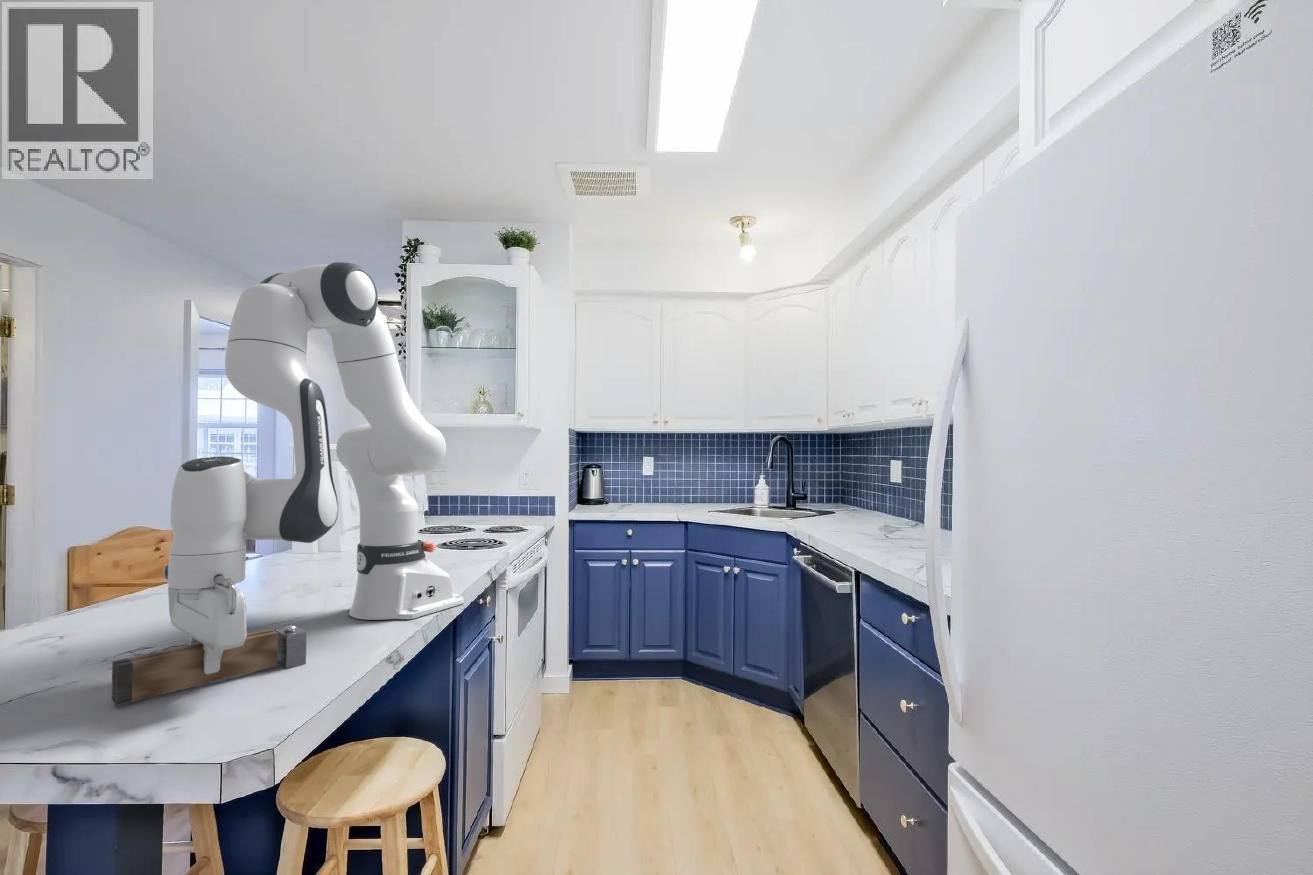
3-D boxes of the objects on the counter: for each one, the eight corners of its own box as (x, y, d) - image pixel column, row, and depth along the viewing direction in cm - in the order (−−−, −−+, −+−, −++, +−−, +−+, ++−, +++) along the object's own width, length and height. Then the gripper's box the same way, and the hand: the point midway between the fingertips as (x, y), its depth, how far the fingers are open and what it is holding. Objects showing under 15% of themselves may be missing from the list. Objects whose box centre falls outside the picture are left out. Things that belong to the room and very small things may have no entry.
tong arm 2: (274, 663, 93) (274, 631, 93) (277, 665, 92) (278, 632, 92) (114, 702, 78) (115, 663, 78) (116, 705, 77) (117, 666, 77)
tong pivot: (292, 657, 97) (293, 622, 97) (305, 663, 94) (306, 627, 94) (273, 661, 95) (274, 625, 95) (286, 668, 92) (286, 631, 92)
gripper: (261, 577, 82) (258, 679, 82) (210, 559, 95) (208, 648, 95) (205, 584, 77) (202, 693, 77) (160, 565, 90) (157, 659, 90)
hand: (205, 668), depth 86 cm, fingers open, 3 cm apart
